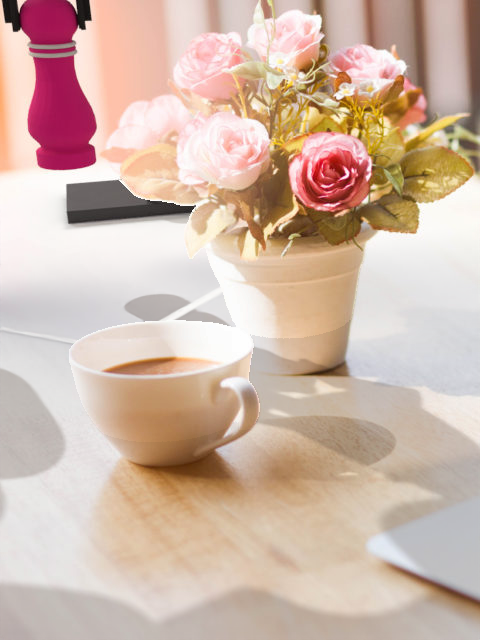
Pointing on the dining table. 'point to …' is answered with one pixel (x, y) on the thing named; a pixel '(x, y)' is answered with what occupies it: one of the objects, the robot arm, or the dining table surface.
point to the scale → (112, 203)
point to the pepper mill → (57, 87)
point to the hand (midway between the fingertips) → (49, 27)
